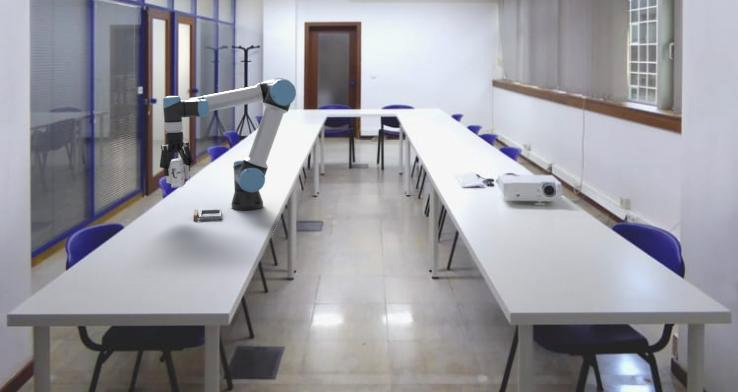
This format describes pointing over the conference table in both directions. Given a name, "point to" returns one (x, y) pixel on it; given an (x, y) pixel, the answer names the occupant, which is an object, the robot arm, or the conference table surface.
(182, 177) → the ink box
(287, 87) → the robot arm
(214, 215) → the frame
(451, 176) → the conference table surface
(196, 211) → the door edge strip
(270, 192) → the conference table surface
